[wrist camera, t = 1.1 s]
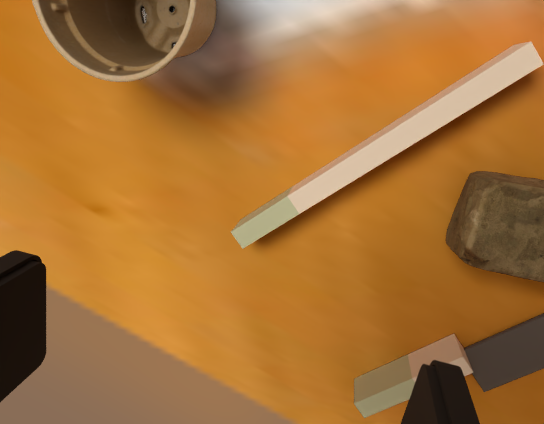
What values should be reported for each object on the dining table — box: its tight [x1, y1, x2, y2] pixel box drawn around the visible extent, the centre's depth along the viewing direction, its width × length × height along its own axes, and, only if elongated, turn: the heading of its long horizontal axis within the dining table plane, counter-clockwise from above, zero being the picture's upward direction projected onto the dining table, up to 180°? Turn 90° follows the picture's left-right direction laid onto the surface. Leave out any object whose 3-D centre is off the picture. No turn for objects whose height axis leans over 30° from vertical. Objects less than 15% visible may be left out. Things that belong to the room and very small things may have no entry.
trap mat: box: [464, 313, 544, 392], centre depth 33 cm, size 8×4×1 cm, turn 125°
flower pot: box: [32, 0, 216, 82], centre depth 27 cm, size 9×9×9 cm
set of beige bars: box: [231, 42, 543, 418], centre depth 31 cm, size 22×18×3 cm
